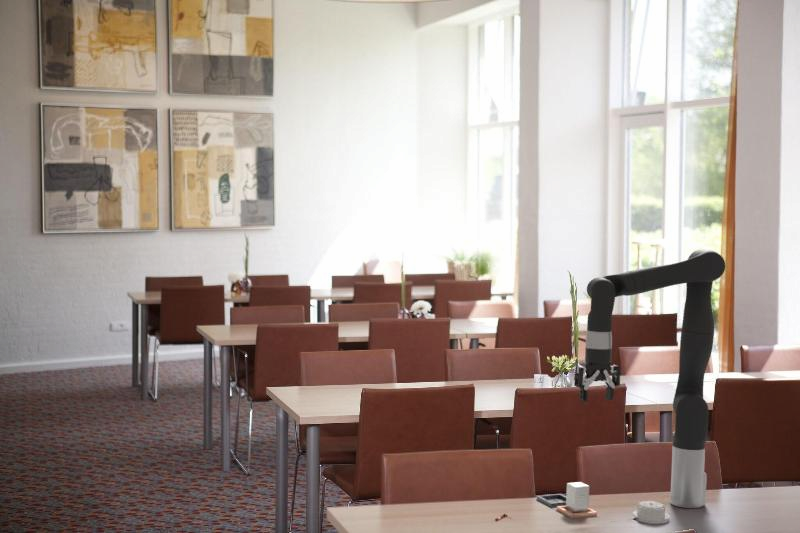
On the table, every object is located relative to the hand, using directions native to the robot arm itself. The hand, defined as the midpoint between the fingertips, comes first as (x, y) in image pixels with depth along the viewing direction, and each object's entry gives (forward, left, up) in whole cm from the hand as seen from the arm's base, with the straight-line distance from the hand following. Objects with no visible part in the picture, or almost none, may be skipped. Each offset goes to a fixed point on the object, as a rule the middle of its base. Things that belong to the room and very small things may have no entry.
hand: (596, 401), depth 298 cm
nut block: (+12, +10, -29) cm, 33 cm away
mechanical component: (-7, +18, -31) cm, 36 cm away
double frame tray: (+12, +5, -30) cm, 33 cm away
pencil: (+28, +1, -31) cm, 41 cm away
